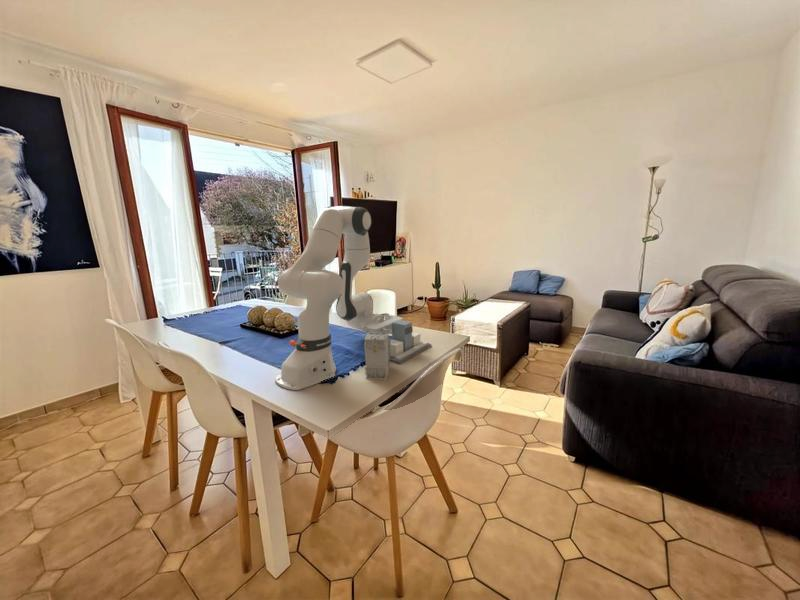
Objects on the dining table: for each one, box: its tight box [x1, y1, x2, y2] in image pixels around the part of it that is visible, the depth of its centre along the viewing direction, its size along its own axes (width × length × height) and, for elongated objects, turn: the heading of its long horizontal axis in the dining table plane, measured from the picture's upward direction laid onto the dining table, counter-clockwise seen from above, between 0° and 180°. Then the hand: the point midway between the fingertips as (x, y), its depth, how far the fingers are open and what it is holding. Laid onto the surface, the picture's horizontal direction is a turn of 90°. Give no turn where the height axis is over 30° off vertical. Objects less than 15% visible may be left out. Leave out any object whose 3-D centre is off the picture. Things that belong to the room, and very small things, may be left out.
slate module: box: [391, 320, 413, 352], centre depth 142 cm, size 5×8×12 cm, turn 53°
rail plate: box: [389, 332, 432, 365], centre depth 143 cm, size 24×14×6 cm, turn 143°
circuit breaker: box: [363, 332, 391, 380], centre depth 123 cm, size 8×14×15 cm, turn 174°
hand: (399, 329), depth 143 cm, fingers open, 8 cm apart
